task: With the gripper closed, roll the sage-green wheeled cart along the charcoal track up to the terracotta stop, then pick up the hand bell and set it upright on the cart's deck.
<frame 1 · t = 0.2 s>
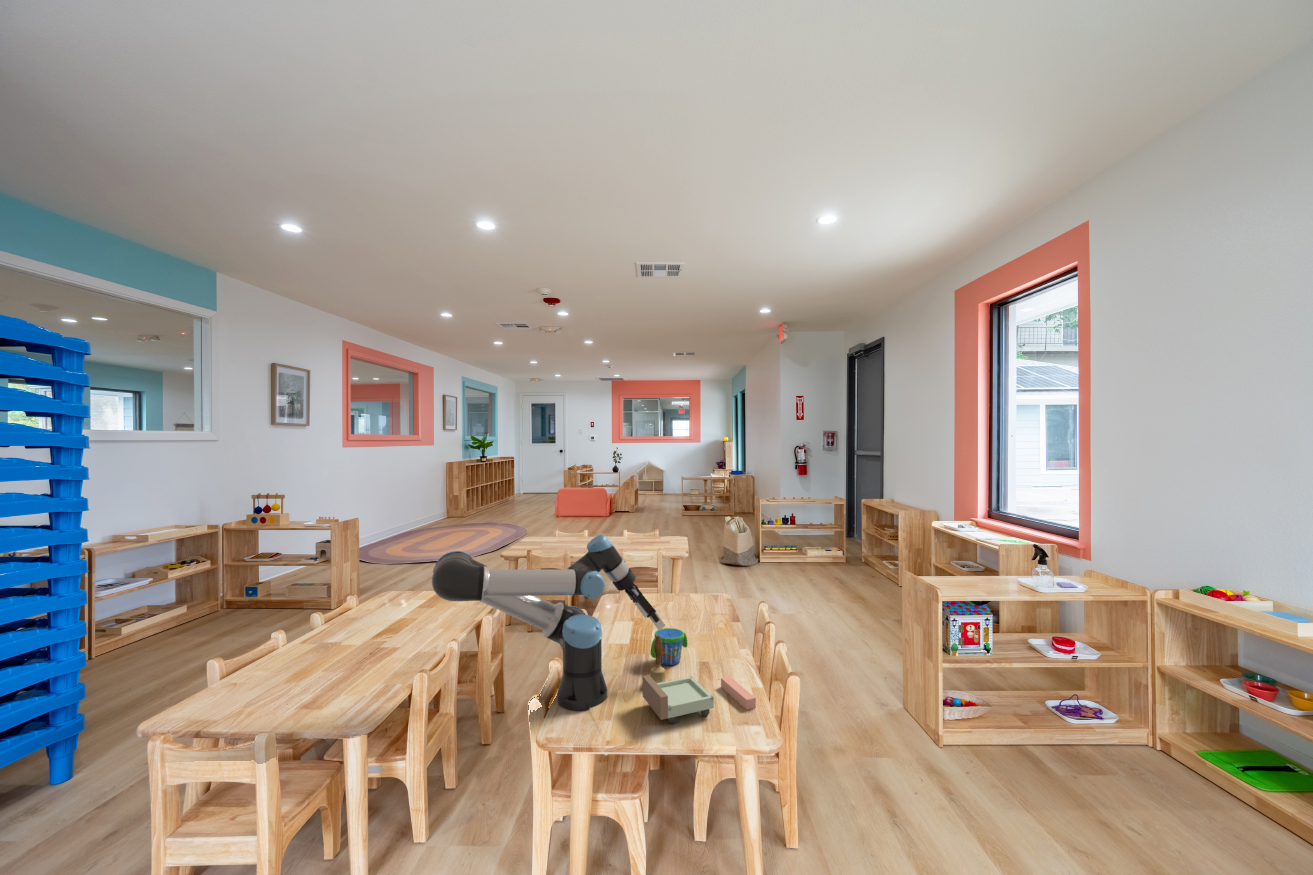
hand: (654, 621, 180), 15 cm above the table, tool tilted 35°, fingers open, 13 cm apart
snack cup: (669, 662, 183), on the table
hand bell: (658, 686, 164), on the table
track: (696, 707, 151), on the table
cart: (677, 695, 148), point 5 cm above the table, slide at 0.0 cm
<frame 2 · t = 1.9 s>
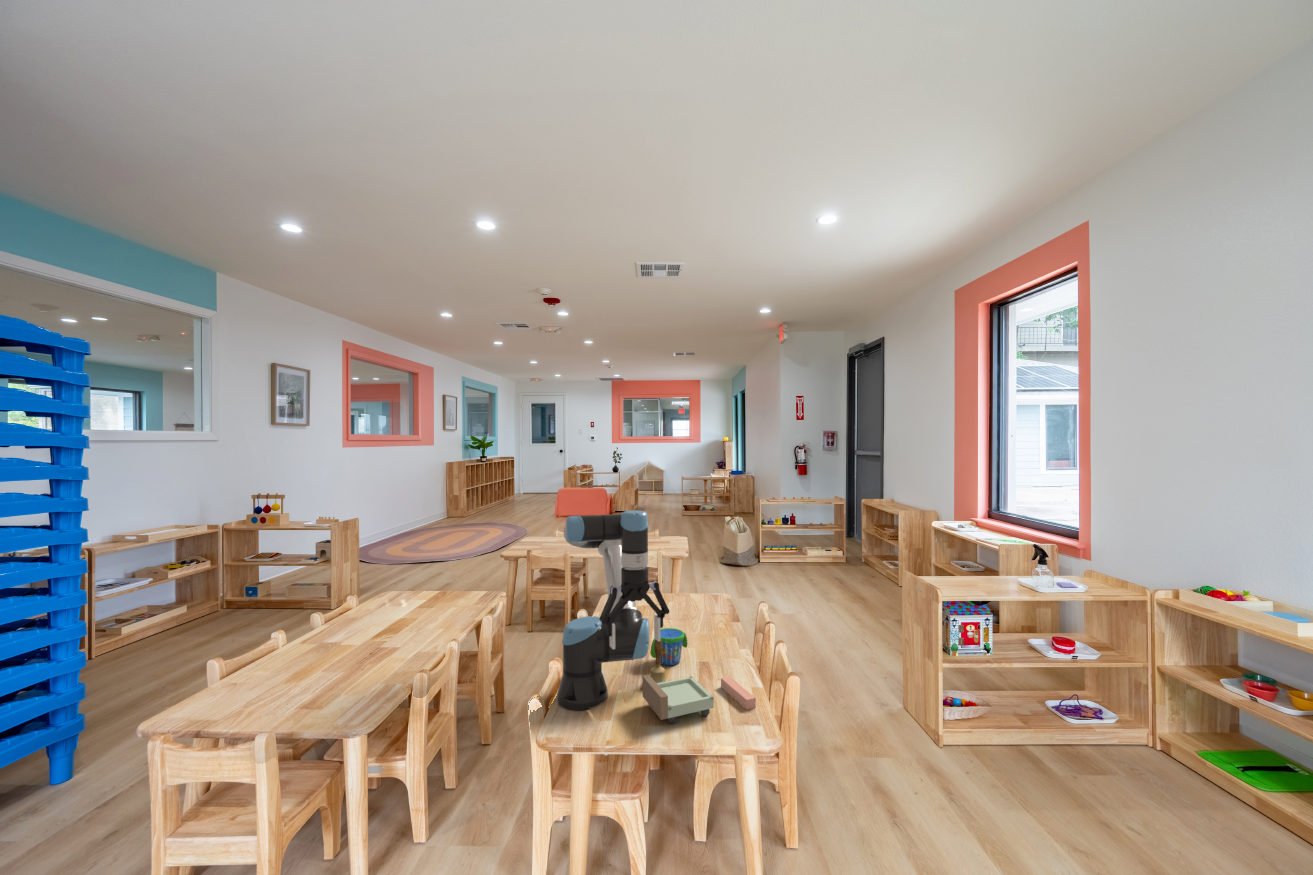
hand: (635, 643, 144), 22 cm above the table, tool pointing down, fingers open, 13 cm apart
nothing on the table moved.
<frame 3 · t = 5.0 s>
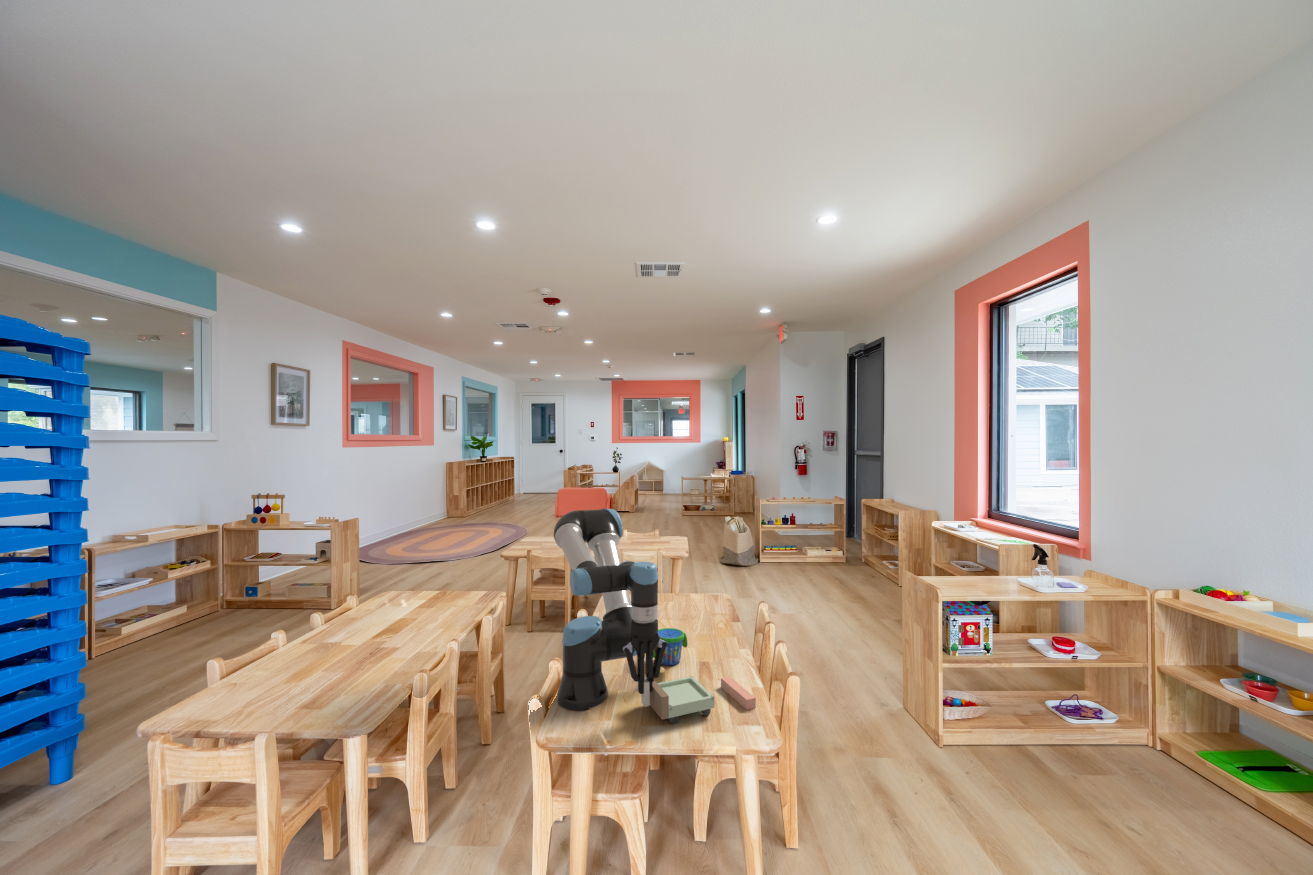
hand: (645, 703, 144), 5 cm above the table, tool pointing down, fingers closed
cart: (678, 695, 148), point 5 cm above the table, slide at 0.3 cm, touching gripper
everything else where it was.
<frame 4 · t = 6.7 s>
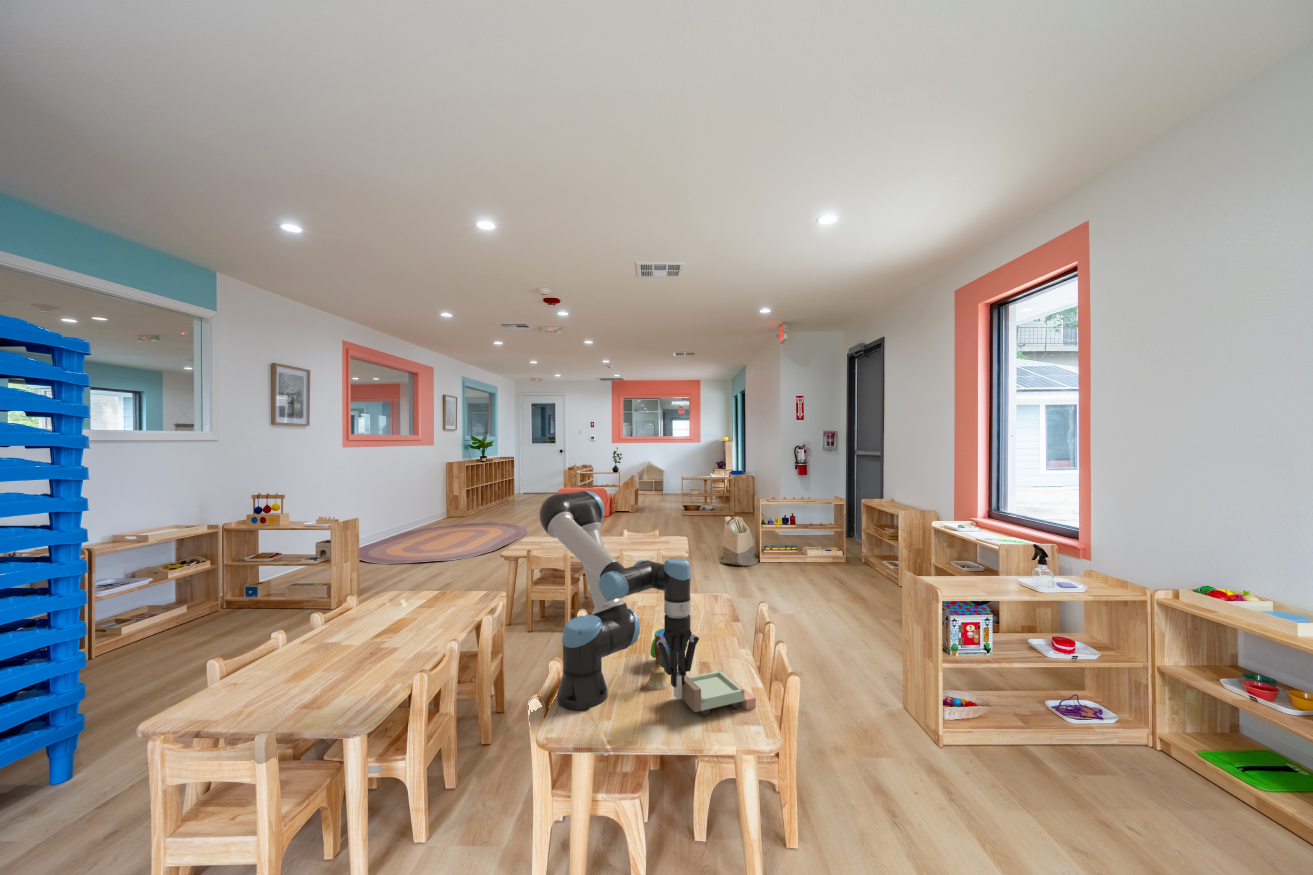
hand: (677, 696, 148), 5 cm above the table, tool pointing down, fingers closed
cart: (708, 688, 152), point 5 cm above the table, slide at 10.1 cm, touching gripper
everything else where it was.
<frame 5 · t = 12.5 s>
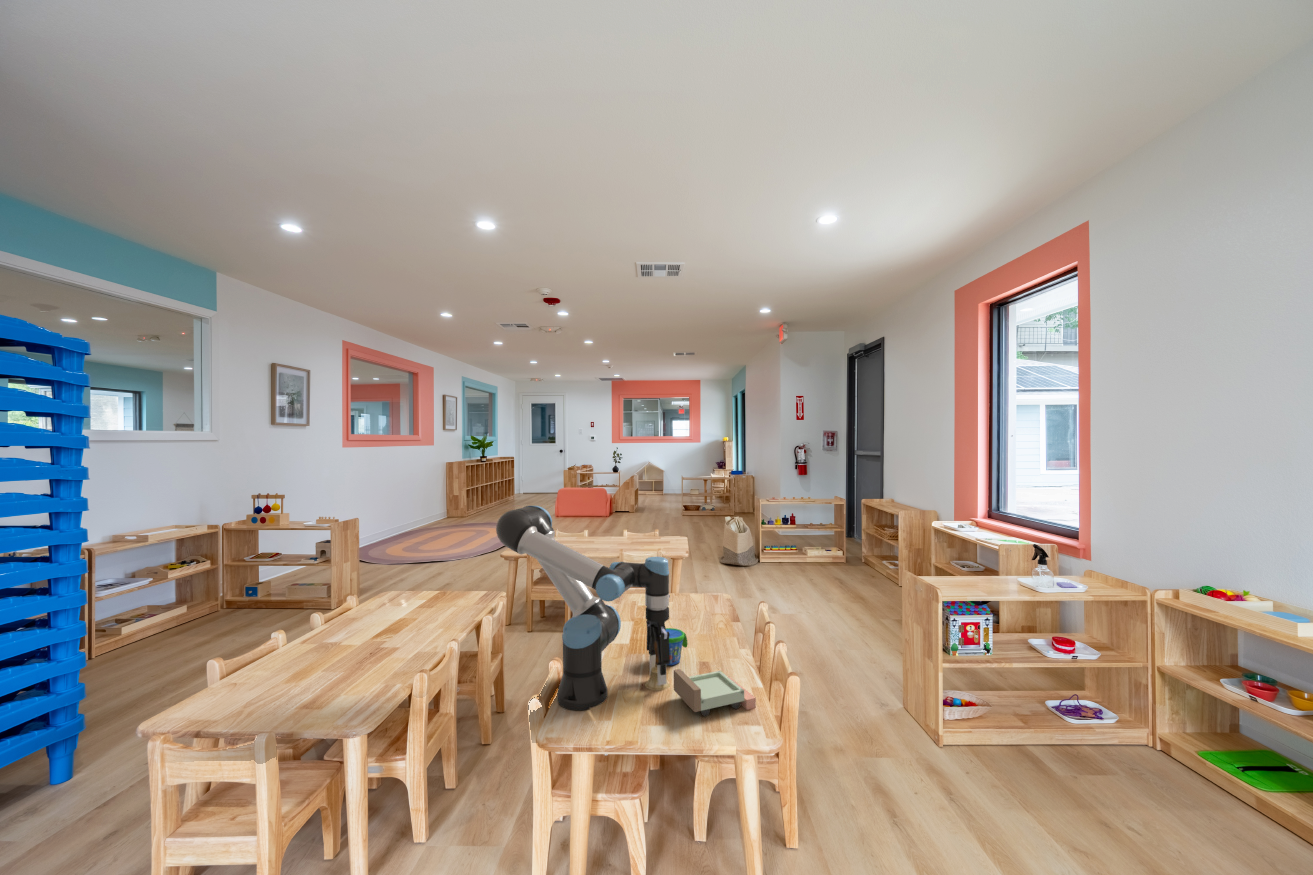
hand: (657, 679, 164), 2 cm above the table, tool pointing down, fingers closed on hand bell, 6 cm apart
hand bell: (657, 686, 164), on the table, touching gripper
cart: (708, 688, 152), point 5 cm above the table, slide at 10.0 cm
everything else where it was.
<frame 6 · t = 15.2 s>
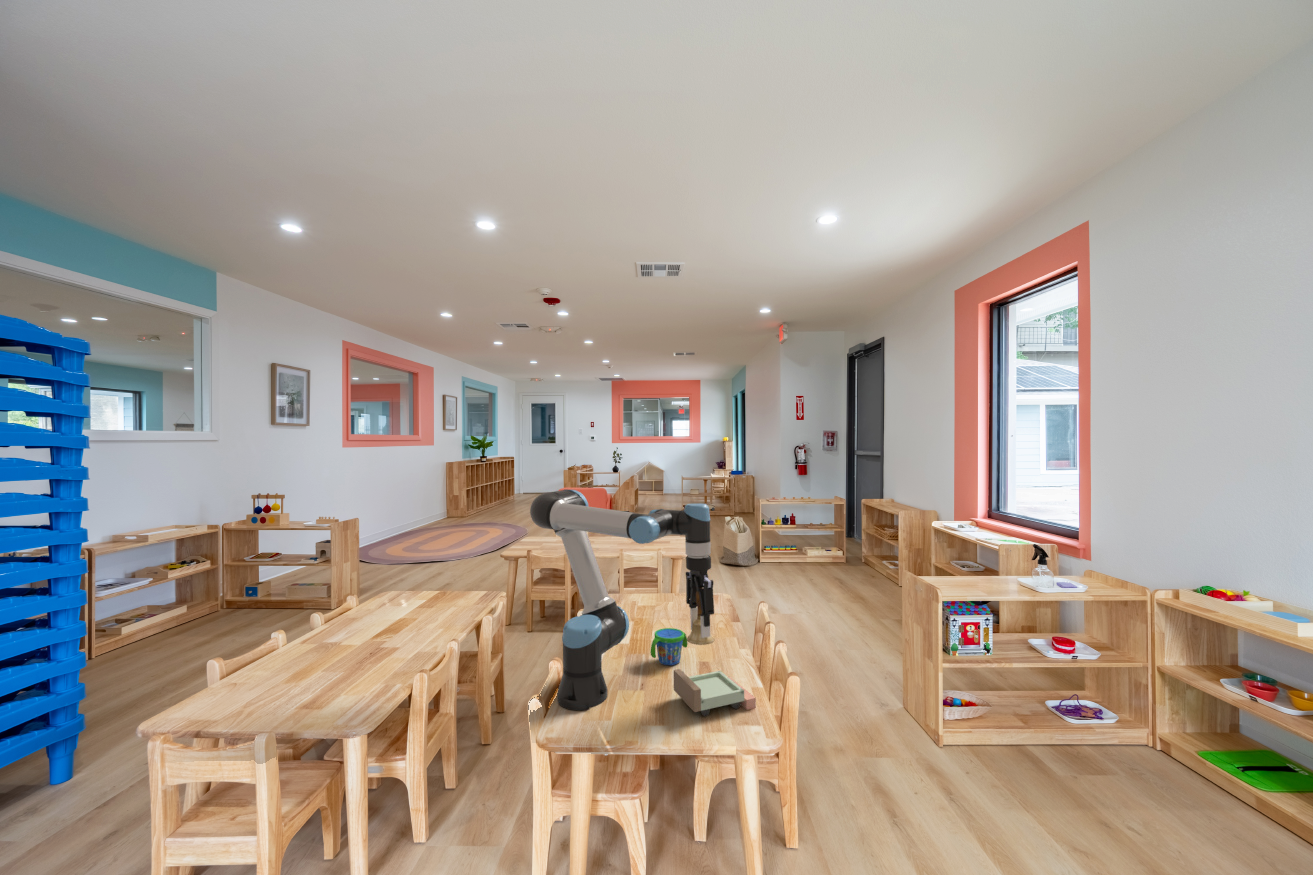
hand: (700, 632, 155), 20 cm above the table, tool pointing down, fingers closed on hand bell, 6 cm apart
hand bell: (700, 640, 155), point 18 cm above the table, touching gripper
everything else where it was.
when the fingers open (9 cm above the table, at t = 18.0 s): hand bell drops 1 cm, resting on cart.
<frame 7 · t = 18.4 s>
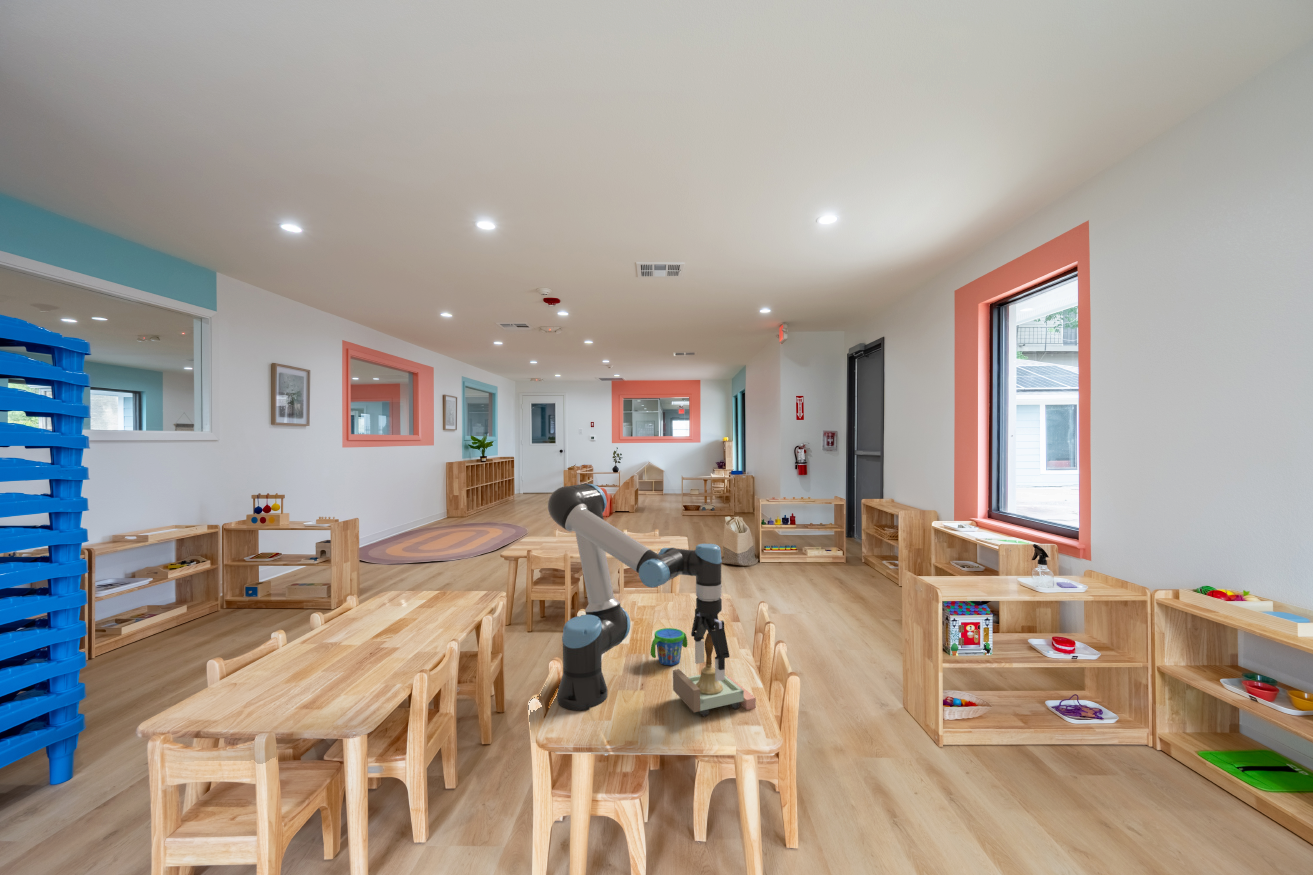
hand: (709, 670, 152), 10 cm above the table, tool pointing down, fingers open, 12 cm apart
hand bell: (708, 688, 152), point 5 cm above the table, touching cart
cart: (707, 689, 152), point 5 cm above the table, slide at 9.8 cm, touching hand bell
everything else where it was.
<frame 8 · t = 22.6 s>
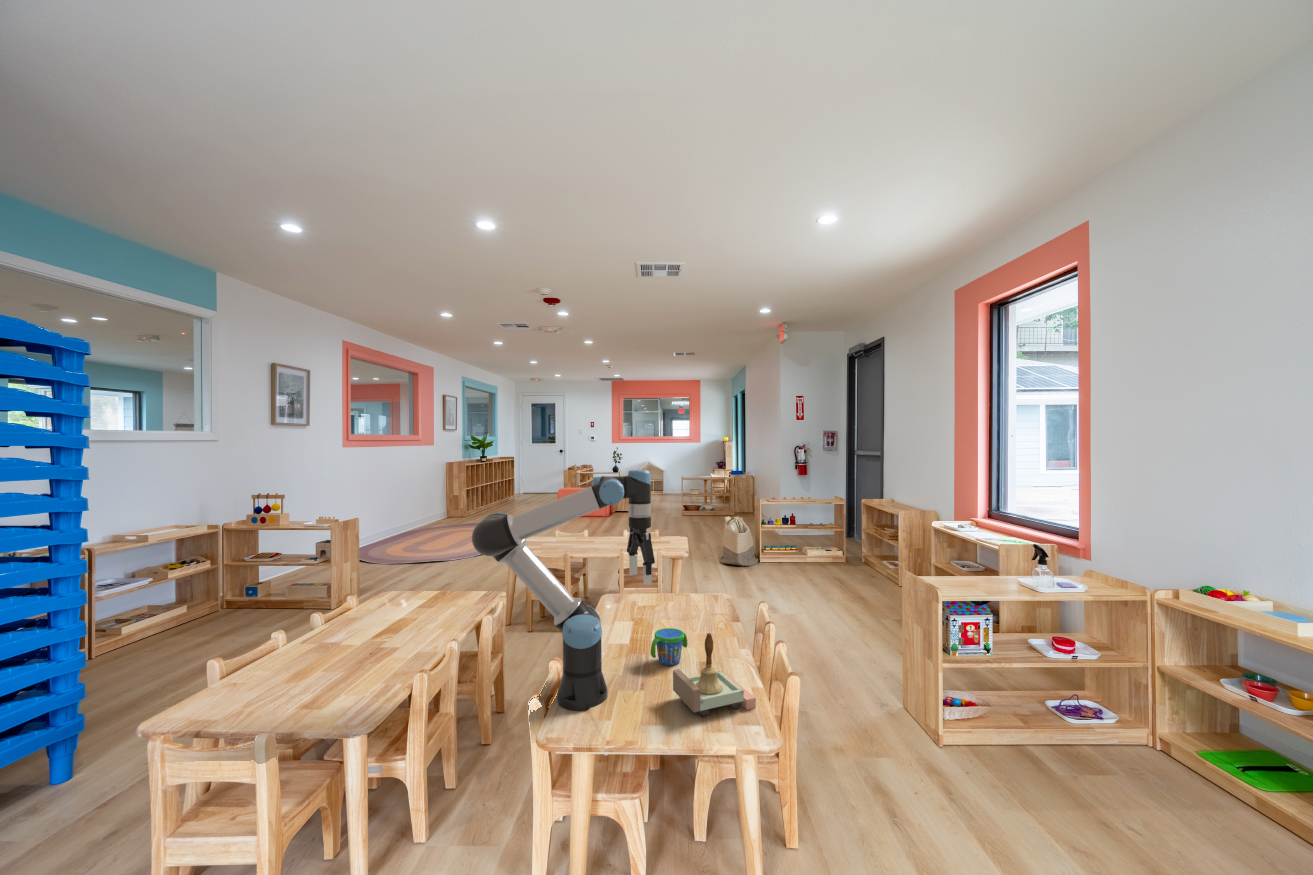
hand: (640, 579, 173), 32 cm above the table, tool pointing down, fingers open, 13 cm apart
nothing on the table moved.
at the end: cart slide at 9.8 cm; hand bell inside the target area on the cart (0.5 cm from its centre), point 4.2 cm above the cart's base; hand bell tilted 0° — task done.
